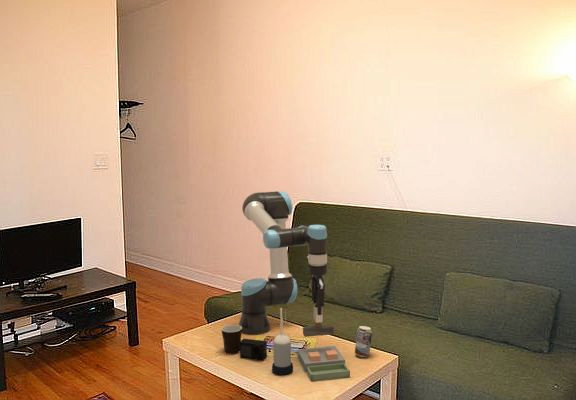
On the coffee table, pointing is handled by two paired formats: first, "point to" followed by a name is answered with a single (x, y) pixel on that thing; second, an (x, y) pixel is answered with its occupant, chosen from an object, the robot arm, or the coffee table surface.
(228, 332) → the coffee mug
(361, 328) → the beverage can
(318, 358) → the tile
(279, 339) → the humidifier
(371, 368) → the coffee table surface
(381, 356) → the coffee table surface
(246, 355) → the digital camera
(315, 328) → the scraper
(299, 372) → the coffee table surface
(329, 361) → the grey flat block
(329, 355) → the tile
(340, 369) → the box
